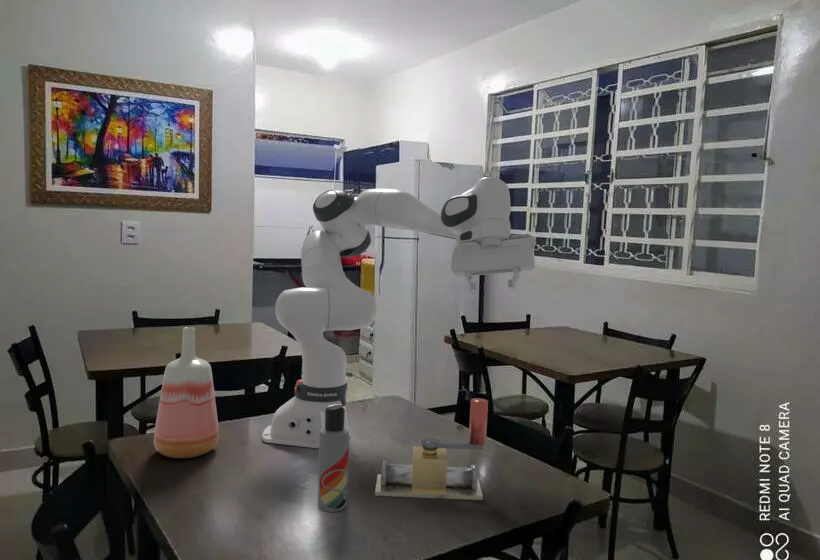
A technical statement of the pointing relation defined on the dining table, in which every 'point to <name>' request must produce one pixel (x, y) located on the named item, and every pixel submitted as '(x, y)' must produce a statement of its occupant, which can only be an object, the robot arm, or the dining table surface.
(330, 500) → the lotion bottle
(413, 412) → the dining table surface
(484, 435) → the lever
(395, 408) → the dining table surface
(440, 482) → the pipe valve
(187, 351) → the vase
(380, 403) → the dining table surface
